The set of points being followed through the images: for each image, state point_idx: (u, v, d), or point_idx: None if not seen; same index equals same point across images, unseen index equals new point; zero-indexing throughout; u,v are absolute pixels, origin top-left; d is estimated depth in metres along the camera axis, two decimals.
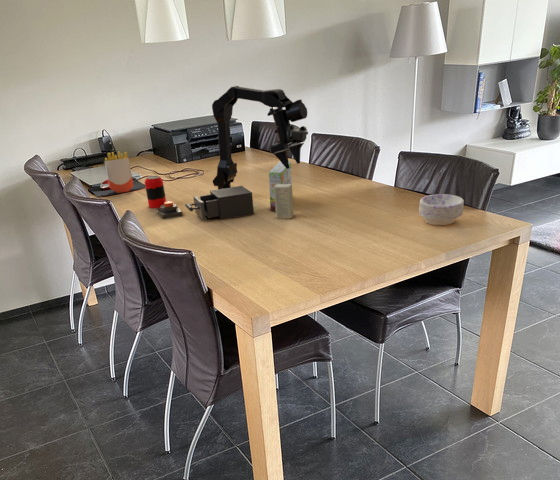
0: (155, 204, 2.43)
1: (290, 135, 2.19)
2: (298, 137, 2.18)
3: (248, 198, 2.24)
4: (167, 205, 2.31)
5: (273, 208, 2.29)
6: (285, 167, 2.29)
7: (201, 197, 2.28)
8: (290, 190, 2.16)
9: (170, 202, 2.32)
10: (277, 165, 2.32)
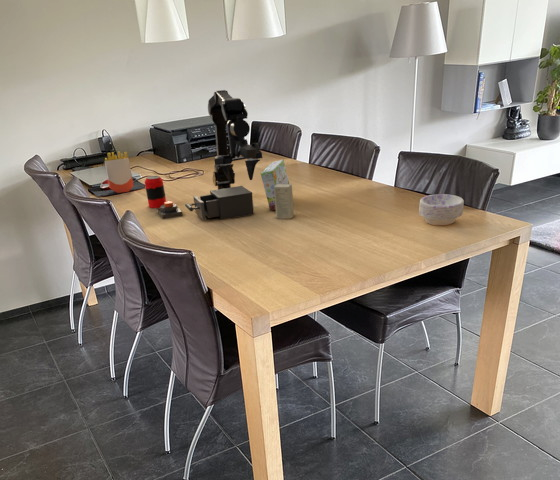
0: (155, 204, 2.43)
1: (238, 150, 2.06)
2: (244, 154, 2.05)
3: (248, 198, 2.24)
4: (167, 205, 2.31)
5: (272, 207, 2.29)
6: (277, 165, 2.29)
7: (201, 197, 2.28)
8: (290, 190, 2.16)
9: (170, 202, 2.32)
10: (269, 165, 2.33)
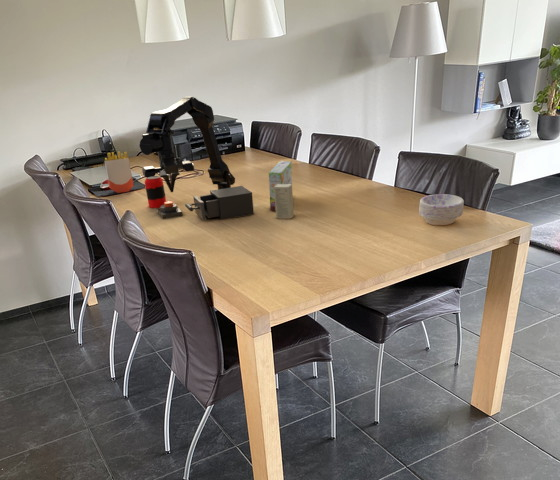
0: (155, 204, 2.43)
1: (161, 164, 2.10)
2: (165, 169, 2.08)
3: (248, 198, 2.24)
4: (167, 205, 2.31)
5: (273, 208, 2.29)
6: (285, 167, 2.29)
7: (201, 197, 2.28)
8: (290, 190, 2.16)
9: (170, 202, 2.32)
10: (277, 165, 2.32)
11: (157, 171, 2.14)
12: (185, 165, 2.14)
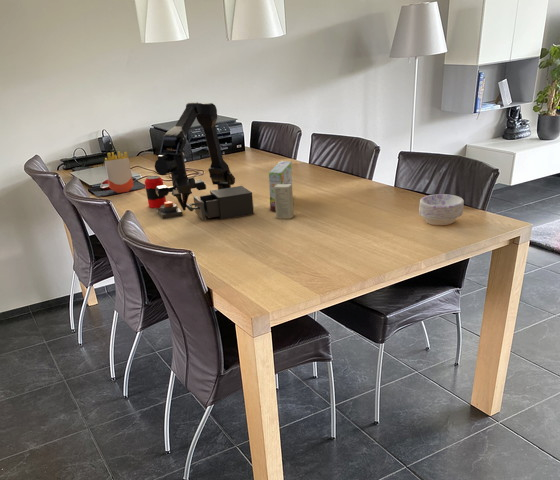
0: (155, 204, 2.43)
1: (174, 183, 2.15)
2: (178, 189, 2.14)
3: (248, 198, 2.24)
4: (167, 205, 2.31)
5: (273, 208, 2.29)
6: (285, 167, 2.29)
7: (201, 197, 2.28)
8: (290, 190, 2.16)
9: (170, 202, 2.32)
10: (277, 165, 2.32)
11: (170, 190, 2.19)
12: (197, 184, 2.19)
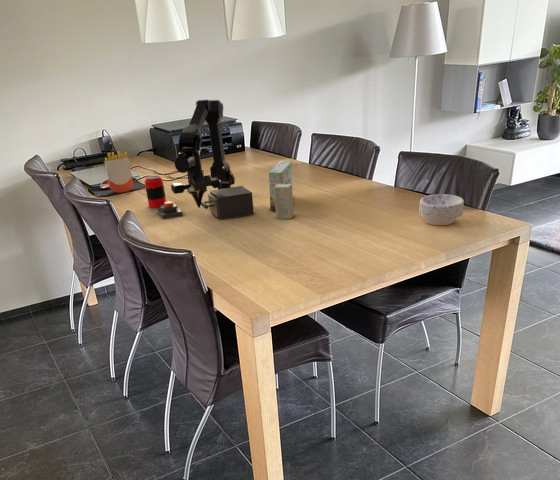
0: (155, 204, 2.43)
1: (190, 181, 2.17)
2: (194, 186, 2.15)
3: (248, 198, 2.24)
4: (167, 205, 2.31)
5: (273, 208, 2.29)
6: (285, 167, 2.29)
7: None
8: (290, 190, 2.16)
9: (170, 202, 2.32)
10: (277, 165, 2.32)
11: (185, 187, 2.21)
12: (213, 182, 2.21)
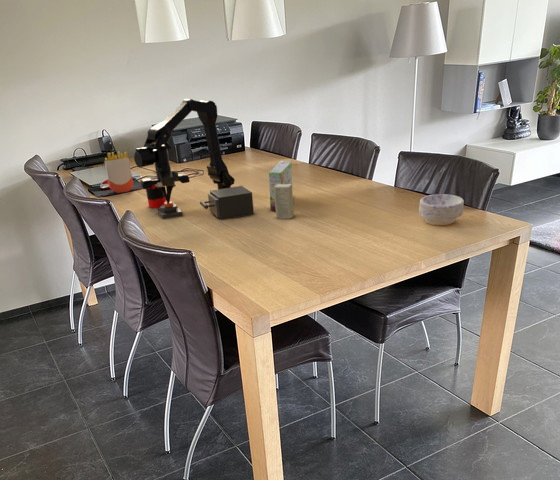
0: (155, 204, 2.43)
1: (158, 176, 2.23)
2: (161, 181, 2.21)
3: (248, 198, 2.24)
4: (167, 206, 2.31)
5: (273, 208, 2.29)
6: (285, 167, 2.29)
7: None
8: (290, 190, 2.16)
9: (170, 202, 2.32)
10: (277, 165, 2.32)
11: (154, 183, 2.26)
12: (181, 177, 2.27)
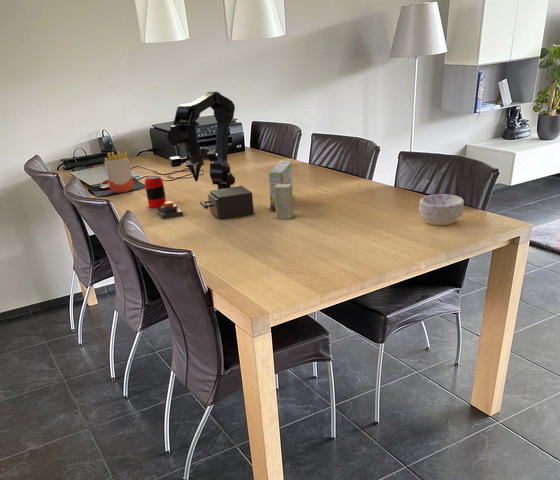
0: (155, 204, 2.43)
1: (187, 154, 2.21)
2: (190, 159, 2.20)
3: (248, 198, 2.24)
4: (167, 205, 2.31)
5: (273, 208, 2.29)
6: (285, 167, 2.29)
7: None
8: (290, 190, 2.16)
9: (170, 202, 2.32)
10: (277, 165, 2.32)
11: (183, 161, 2.25)
12: (209, 155, 2.25)
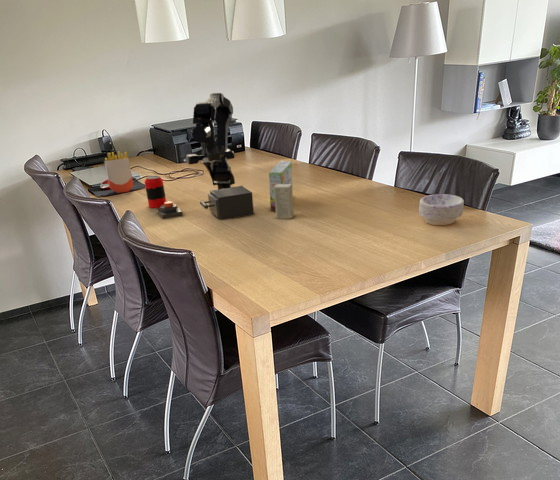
0: (155, 204, 2.43)
1: (205, 151, 2.22)
2: (208, 156, 2.21)
3: (248, 198, 2.24)
4: (167, 205, 2.31)
5: (273, 208, 2.29)
6: (285, 167, 2.29)
7: None
8: (290, 190, 2.16)
9: (170, 202, 2.32)
10: (277, 165, 2.32)
11: (200, 158, 2.26)
12: (226, 153, 2.26)
